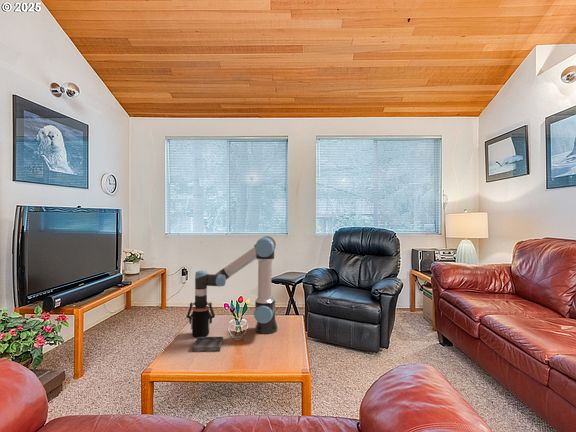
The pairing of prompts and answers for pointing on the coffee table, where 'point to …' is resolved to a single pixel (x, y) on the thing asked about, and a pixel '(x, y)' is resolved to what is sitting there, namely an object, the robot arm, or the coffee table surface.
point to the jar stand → (207, 344)
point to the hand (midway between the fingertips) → (200, 328)
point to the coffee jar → (200, 322)
